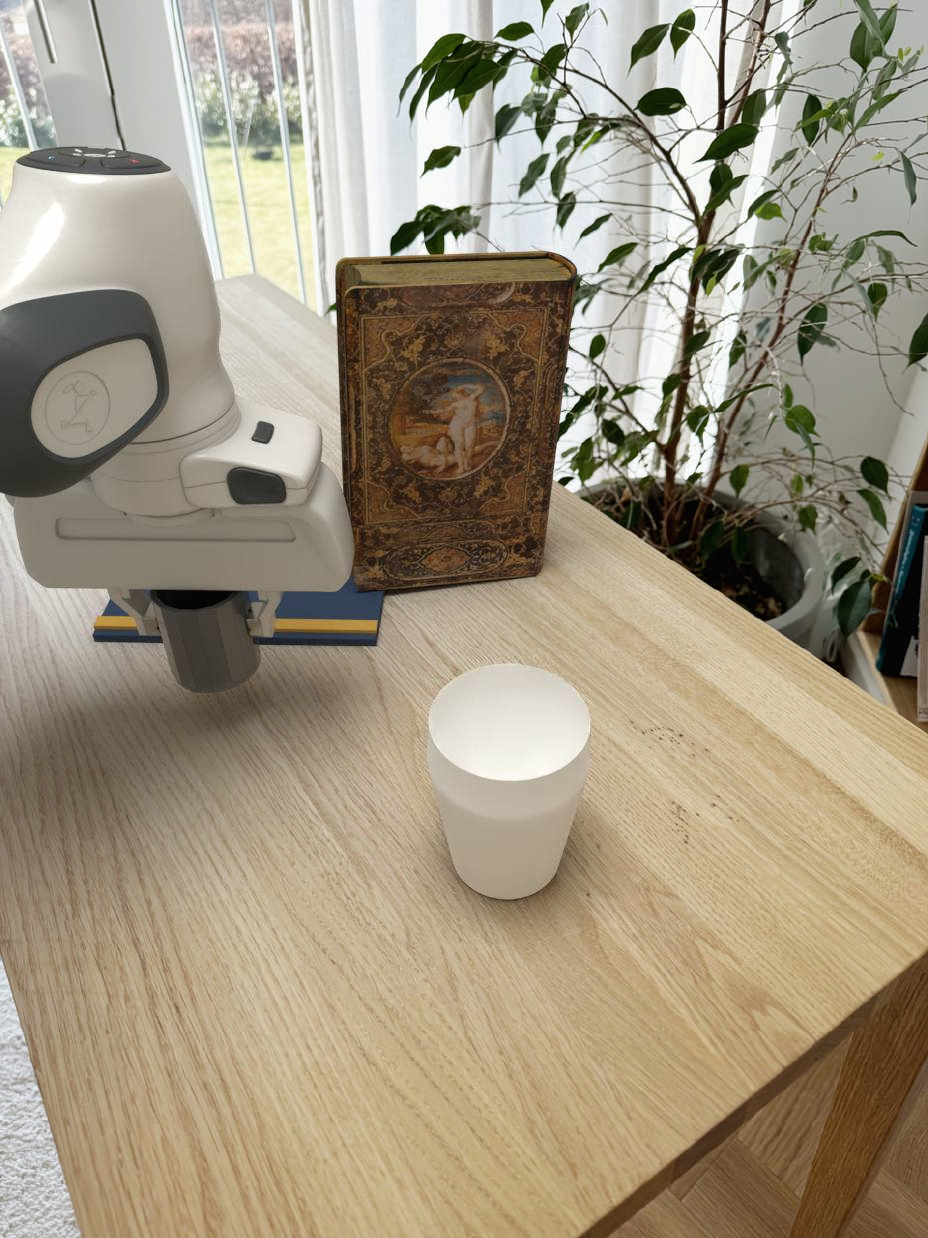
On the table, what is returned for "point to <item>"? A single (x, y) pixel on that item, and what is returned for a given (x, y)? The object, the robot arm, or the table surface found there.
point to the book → (450, 411)
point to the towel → (284, 618)
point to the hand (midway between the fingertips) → (209, 630)
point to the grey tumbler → (207, 637)
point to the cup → (508, 774)
